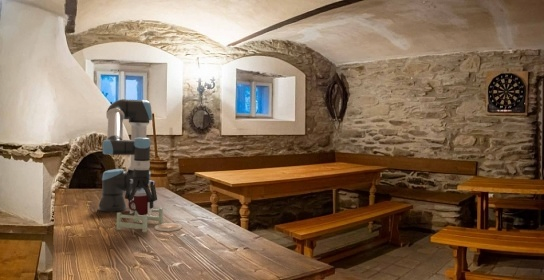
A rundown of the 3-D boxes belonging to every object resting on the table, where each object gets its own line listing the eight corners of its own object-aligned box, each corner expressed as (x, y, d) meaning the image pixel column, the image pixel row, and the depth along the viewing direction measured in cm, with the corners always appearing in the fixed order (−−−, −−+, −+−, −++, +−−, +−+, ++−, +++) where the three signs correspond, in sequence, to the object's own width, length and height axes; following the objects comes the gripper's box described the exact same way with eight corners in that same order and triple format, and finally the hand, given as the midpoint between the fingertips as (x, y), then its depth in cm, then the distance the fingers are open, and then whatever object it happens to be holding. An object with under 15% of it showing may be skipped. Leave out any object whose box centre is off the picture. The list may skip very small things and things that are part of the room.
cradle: (116, 229, 196) (116, 213, 195) (135, 221, 213) (136, 206, 213) (145, 232, 193) (145, 215, 193) (162, 223, 211) (163, 208, 210)
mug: (131, 218, 197) (130, 197, 197) (128, 215, 204) (126, 195, 203) (153, 214, 203) (152, 194, 202) (149, 211, 209) (148, 192, 209)
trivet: (149, 230, 197) (150, 228, 197) (162, 223, 210) (162, 221, 210) (175, 232, 195) (175, 230, 195) (186, 225, 208) (186, 224, 208)
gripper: (117, 168, 200) (116, 213, 202) (158, 171, 196) (157, 217, 198) (125, 166, 208) (124, 210, 209) (165, 169, 204) (164, 214, 205)
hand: (140, 213), depth 203 cm, fingers closed on mug, 9 cm apart
